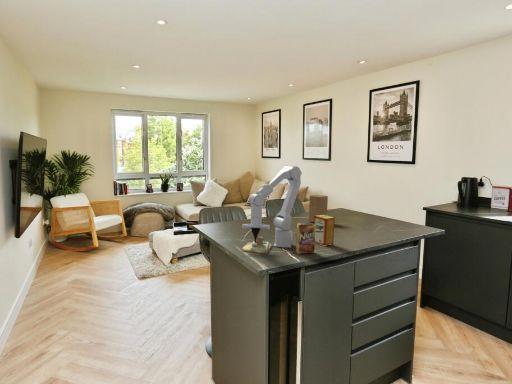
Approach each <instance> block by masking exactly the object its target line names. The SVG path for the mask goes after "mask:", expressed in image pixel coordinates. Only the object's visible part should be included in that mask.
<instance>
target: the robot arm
mask: <svg viewBox="0 0 512 384" xmlns="http://www.w3.org/2000/svg"><path fill="white" fill-rule="evenodd" d="M301 177H302V170H301V169H300V167H299V166H298V165H297V166H296V165H295V166H294V165H293V166H292V165H285V166H283V168H281V169H280V171H279V172H278V173H277V175H276V176H274V178H272V180H271V181H270V182H269V183H265V184H264V183H263V184H262V186H261V188H259V189H258V190H256V192H255V193H253V194H251V195H250V198H249V199H248V201H249V203H250V223H242V225H241V228H242V229H251V233H252V236H253V239H254V241H255V242H256V240H257V237H259V234H260V231H261V230H271V229H270V228H271V226H270V224H264V223H263V224H262V221H263V220H262V219H263V218H262V217H263V216H262V215H263V205H264V204H265V200H266V199H267V198H268V197H269V196H270V195H272V193H273V192H274V188H275V187H277V186H278V185H279V184H280V183H282V181H284V180H287V182H288V183H289V186H288V190H287V193H286V195H285V197H284V200H283V203H282V205H281V206H282V207H281V209H280V211H279V212H278V213H277V214H276V216H275V217H274V218H273V221H272V222H273V226H274V227H275V233H274V235H275V236H274V244H272V247H276V248H278V247H280V248H292V246H293V230H291V229H290V228H291V227H292V220H293V217H292V215H291V213H292V211H293V207H294V205H295V201H296V199H297V197H298V193H299V189H300V187H301V182H302V181H301V179H302V178H301Z"/></svg>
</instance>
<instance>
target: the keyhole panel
mask: <svg viewBox="0 0 512 384" xmlns="http://www.w3.org/2000/svg"><path fill="white" fill-rule="evenodd" d="M256 240H257V243H255V240H252V242H251V243H252V244H253V243H255V244H256V247H253V246H251V250H263V251H267V248H268V244H270V243H269V241H264V236H257V239H256ZM258 247H260V248H258Z"/></svg>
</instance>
